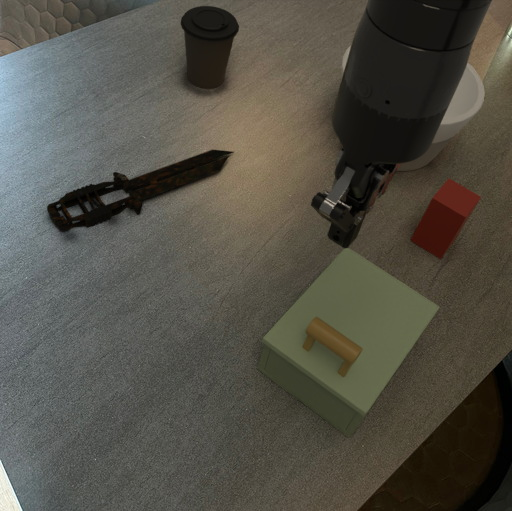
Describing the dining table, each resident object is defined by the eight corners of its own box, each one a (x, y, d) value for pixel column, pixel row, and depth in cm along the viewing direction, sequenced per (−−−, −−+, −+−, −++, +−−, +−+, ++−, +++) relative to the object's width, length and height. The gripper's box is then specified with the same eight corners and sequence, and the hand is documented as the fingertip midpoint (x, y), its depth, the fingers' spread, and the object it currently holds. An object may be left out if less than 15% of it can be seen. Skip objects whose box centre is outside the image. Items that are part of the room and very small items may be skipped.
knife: (228, 148, 85) (229, 140, 84) (251, 180, 82) (252, 173, 81) (42, 200, 75) (40, 191, 74) (59, 238, 72) (57, 231, 71)
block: (455, 239, 80) (481, 196, 74) (440, 259, 78) (466, 217, 71) (425, 220, 81) (448, 177, 75) (410, 240, 79) (432, 197, 73)
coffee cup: (226, 100, 91) (232, 39, 83) (171, 87, 91) (173, 25, 83) (238, 67, 96) (245, 8, 88) (186, 55, 96) (189, -6, 88)
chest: (349, 438, 62) (366, 413, 57) (256, 369, 65) (265, 339, 60) (417, 341, 70) (437, 311, 65) (331, 283, 73) (344, 250, 68)
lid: (364, 417, 56) (381, 390, 52) (261, 342, 59) (270, 312, 55) (437, 311, 65) (457, 281, 61) (344, 250, 68) (357, 218, 64)
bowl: (473, 183, 87) (508, 124, 78) (341, 186, 83) (362, 124, 75) (430, 93, 98) (456, 33, 90) (311, 93, 94) (327, 29, 86)
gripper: (401, 154, 38) (336, 309, 51) (487, 62, 45) (411, 219, 59) (299, 96, 40) (263, 260, 54) (398, 17, 47) (344, 179, 61)
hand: (341, 238), depth 56 cm, fingers closed
